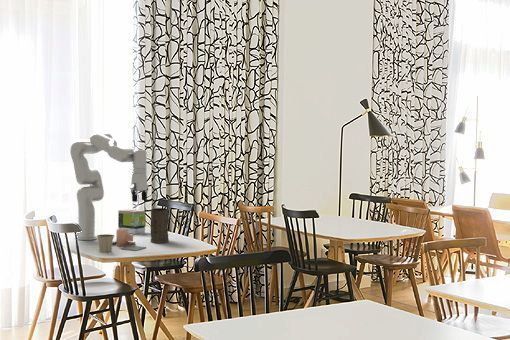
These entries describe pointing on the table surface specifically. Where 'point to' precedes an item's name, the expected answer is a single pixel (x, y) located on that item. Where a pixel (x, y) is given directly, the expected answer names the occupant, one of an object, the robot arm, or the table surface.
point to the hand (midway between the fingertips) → (139, 200)
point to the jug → (123, 237)
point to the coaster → (133, 248)
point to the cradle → (125, 244)
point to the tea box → (132, 220)
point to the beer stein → (159, 225)
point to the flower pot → (105, 242)
